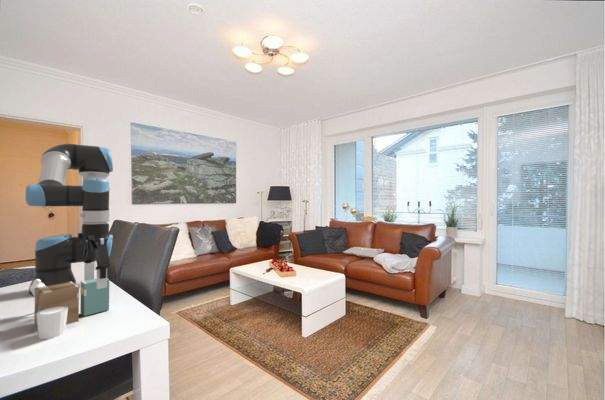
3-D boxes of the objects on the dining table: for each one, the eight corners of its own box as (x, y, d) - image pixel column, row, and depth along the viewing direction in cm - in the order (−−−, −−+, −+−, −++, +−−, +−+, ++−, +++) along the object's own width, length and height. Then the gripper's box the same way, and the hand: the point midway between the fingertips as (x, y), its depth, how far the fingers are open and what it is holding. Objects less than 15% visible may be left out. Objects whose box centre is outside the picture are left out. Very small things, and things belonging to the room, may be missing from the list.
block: (80, 312, 93) (80, 281, 93) (104, 306, 99) (104, 276, 99) (84, 316, 90) (84, 283, 90) (109, 309, 96) (109, 279, 96)
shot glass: (49, 329, 82) (50, 305, 82) (74, 328, 82) (74, 305, 82) (28, 340, 75) (29, 315, 75) (55, 339, 75) (55, 314, 75)
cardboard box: (34, 322, 86) (34, 287, 86) (71, 313, 93) (71, 281, 93) (40, 331, 80) (40, 293, 80) (78, 320, 87) (79, 286, 87)
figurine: (46, 315, 91) (47, 279, 91) (29, 319, 88) (29, 282, 89) (46, 309, 96) (46, 275, 96) (29, 312, 93) (29, 277, 94)
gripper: (72, 222, 99) (71, 280, 99) (94, 225, 84) (93, 294, 83) (97, 221, 105) (96, 276, 105) (121, 223, 90) (121, 288, 89)
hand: (95, 284), depth 94 cm, fingers open, 13 cm apart
